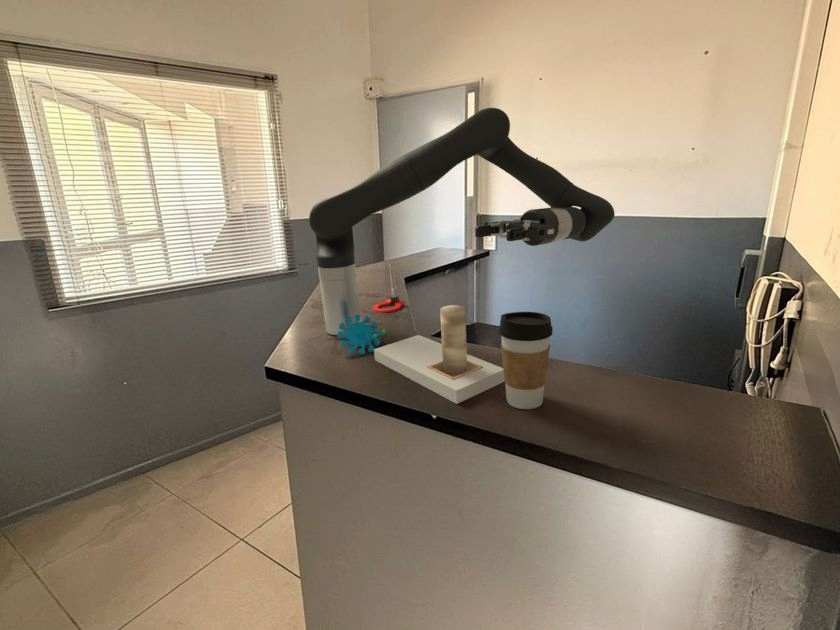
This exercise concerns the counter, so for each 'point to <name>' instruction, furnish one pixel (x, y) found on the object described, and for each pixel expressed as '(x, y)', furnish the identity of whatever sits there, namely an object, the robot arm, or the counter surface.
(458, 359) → the peg
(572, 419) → the counter surface
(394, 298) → the tow hook
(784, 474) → the counter surface
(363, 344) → the gear
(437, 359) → the white peg hole board
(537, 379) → the coffee cup
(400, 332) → the counter surface
